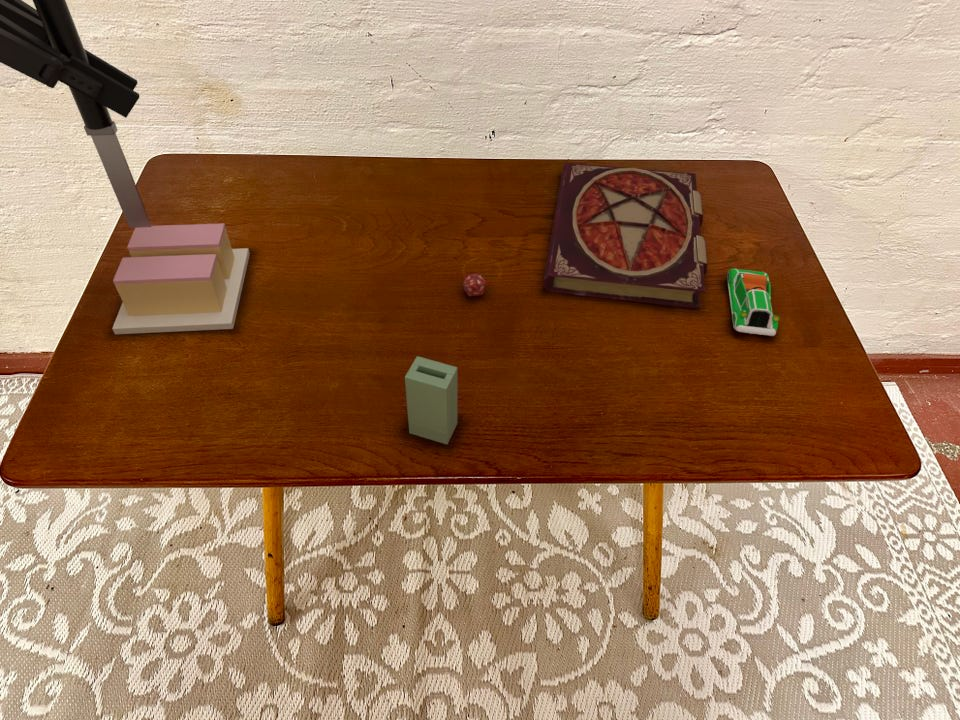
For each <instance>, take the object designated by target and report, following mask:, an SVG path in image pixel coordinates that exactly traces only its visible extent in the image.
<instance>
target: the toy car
mask: <svg viewBox="0 0 960 720" xmlns="http://www.w3.org/2000/svg"><path fill="white" fill-rule="evenodd" d="M769 277H770V276H769V274H768V273H767V272H765V271H764V270H762V271H757V270H749V269H741V268H740V269H739V268H737V267H734V268H730V269H729V270H727V272H726V280H727V281H726V282H727V290H728V296H729V297H728V298H729V304H730V310H731V320H732V326H733V330H734V331H737V332H739V333H745V334H747V333H748V334H751V335H752V334H753V335H760V336H761V335H763V336H769V337H774V336H776V334H777V331H778V329H779V328H778V327H779V321H780V320H781V317H780V316H779V315H776V314H774V311H773V307H772V302H771V300H772V296H771V295H772V292H771V291H772V290H771V288H772V287H771V281H770V278H769Z"/></svg>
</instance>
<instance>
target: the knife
mask: <svg viewBox="0 0 960 720" xmlns="http://www.w3.org/2000/svg"><path fill="white" fill-rule="evenodd" d="M32 2H33V5H34V7H35V9H36V10H37V12H38V14H39V17H40V19H41V22H42V24H43V26H44V29H45V31H46V33H47V36H48V38H49V41H50V43H51V45H52V47H53V48H54V49H56V50H57V51H59V52H61V53H62V54H64V55H66V56H67V57H68V58H70V57H71V55H73V56H75V57H77V58H79V59H80V60H82V61H84V62H85V63H87V64H89V65H90V63H89V60H88V58H87V55H86V52H85V50H86V49H85V48H84V44H83V43H82V40H81V37H80V33H79V32H78V29H77V27H76V24H75V21H74V19H73V16H72V14H71V11H70V8H69V6H68V4H67V1H66V0H32ZM84 49H85V50H84ZM90 66H91V65H90ZM68 88H69V90H70V94H71V96H72V98H73V100H74V102H75V105H76V107H77V109H78V113H79V114H80V117H81V119H82V121H83V124H84V126H83V129H84V131H85V133H86V136H88V137H90V138H91V139H92V142H93V145H94V147H95V149H96V151H97V154H98V156H99V159H100V161H101V163H102V166H103V167H104V171H105V173H106V175H107V178H108V181H109V183H110V185H111V187H112V190H113V192H114V194H115V197H116V199H117V202H118V204H119V206H120V209H121V211H122V213H123V215H124V218H125V221H126V223H127V226H128V228H129V229H135V228H144V227H151V226H153V225H152V223H151V220H150V217H149V215H148V213H147V210H146V207H145V204H144V202H143V199H142V196H141V195H140V192H139V189H138V187H137V184H136V182H135V178H134V177H133V174H132V171H131V168H130V166H129V164H128V161H127V159H126V156H125V154H124V150H123V149H122V146H121V143H120V141H119V138H118V135H117V131H118V127H117V125H116V122H115V121H114V120H112V117H111V114H110V112H109V108H107V107H105V106H103V105H102V104H100V103H98V102H96V101H94V100H93V99H91V98H89V97H87V96H85V95H84V94H82V93H80V92H78V91H76V90H75V89H73V88H71V87H69V86H68Z"/></svg>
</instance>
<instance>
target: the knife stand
mask: <svg viewBox="0 0 960 720" xmlns="http://www.w3.org/2000/svg"><path fill="white" fill-rule="evenodd" d="M458 372H459V371H458V367H457V366H454V365H450V364H447V363H443V362H440V361H436V360H433V359H429V358H425V357H421V356H418V355H417V356H416V357H415V358H414V361H413V362H412V364H411V366H410V367H409V369H408V370H407V372H406V374H405V376H404V386H405V397H406V409H407V411H406V412H407V423H408V433H409V434H410V435H414V436H418V437H421V438H424V439H427V440H431V441H433V442H437V443H441V444H444V445H448V444H449V442H450V440H451V438H452V436H453V434H454V432H455V429H456V427H457V425H458V387H459V386H458V380H459V379H458V377H459V375H458Z"/></svg>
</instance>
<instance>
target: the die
mask: <svg viewBox="0 0 960 720" xmlns="http://www.w3.org/2000/svg"><path fill="white" fill-rule="evenodd" d="M486 284H487V280H486V279H485V278H484V277H483V276H482V275H481V274H480V273H475V274H474V273H473V274H466V275H465V277H464V280H463V284H462V289H463V291H464V292H465V293H466V294H467V296H468V297H477V296H482V295H484V292H485V289H486Z"/></svg>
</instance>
